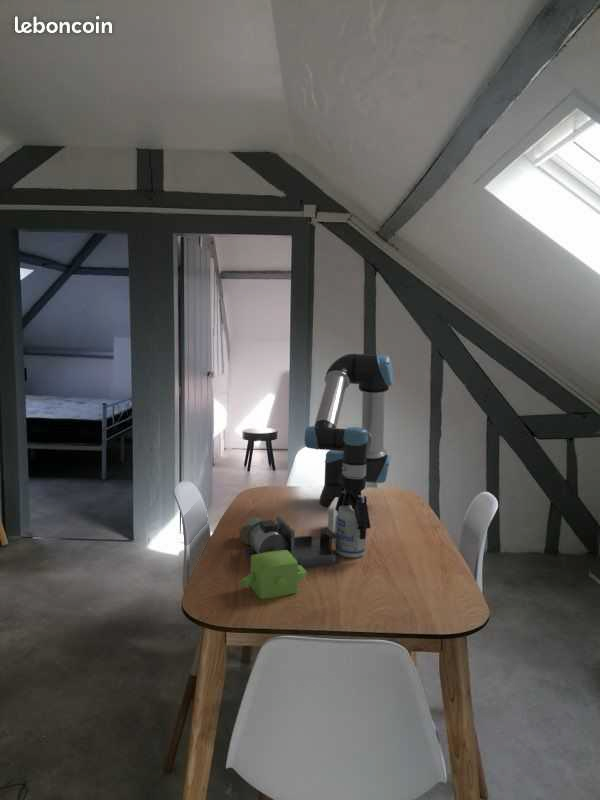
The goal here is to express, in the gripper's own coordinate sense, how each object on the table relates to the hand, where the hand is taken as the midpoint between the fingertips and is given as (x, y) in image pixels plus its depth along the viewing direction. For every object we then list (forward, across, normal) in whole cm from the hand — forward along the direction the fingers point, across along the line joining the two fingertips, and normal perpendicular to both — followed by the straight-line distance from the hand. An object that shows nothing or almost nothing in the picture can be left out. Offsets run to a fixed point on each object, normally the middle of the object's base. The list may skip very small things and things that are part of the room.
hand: (351, 540), depth 178 cm
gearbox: (+4, +19, -33) cm, 38 cm away
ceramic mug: (+4, -18, -26) cm, 32 cm away
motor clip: (+4, -2, -19) cm, 20 cm away
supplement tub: (+4, 0, 0) cm, 4 cm away
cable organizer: (+4, -17, +6) cm, 19 cm away
